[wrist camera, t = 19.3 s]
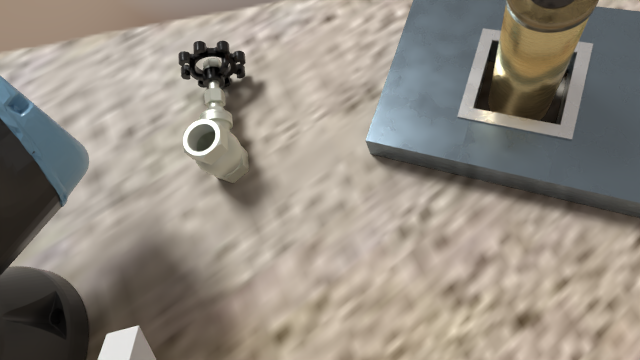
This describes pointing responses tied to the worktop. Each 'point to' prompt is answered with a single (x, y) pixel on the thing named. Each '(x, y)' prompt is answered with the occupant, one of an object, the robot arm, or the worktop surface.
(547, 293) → the worktop surface
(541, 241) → the worktop surface
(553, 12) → the brass bushing
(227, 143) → the valve
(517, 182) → the plate
